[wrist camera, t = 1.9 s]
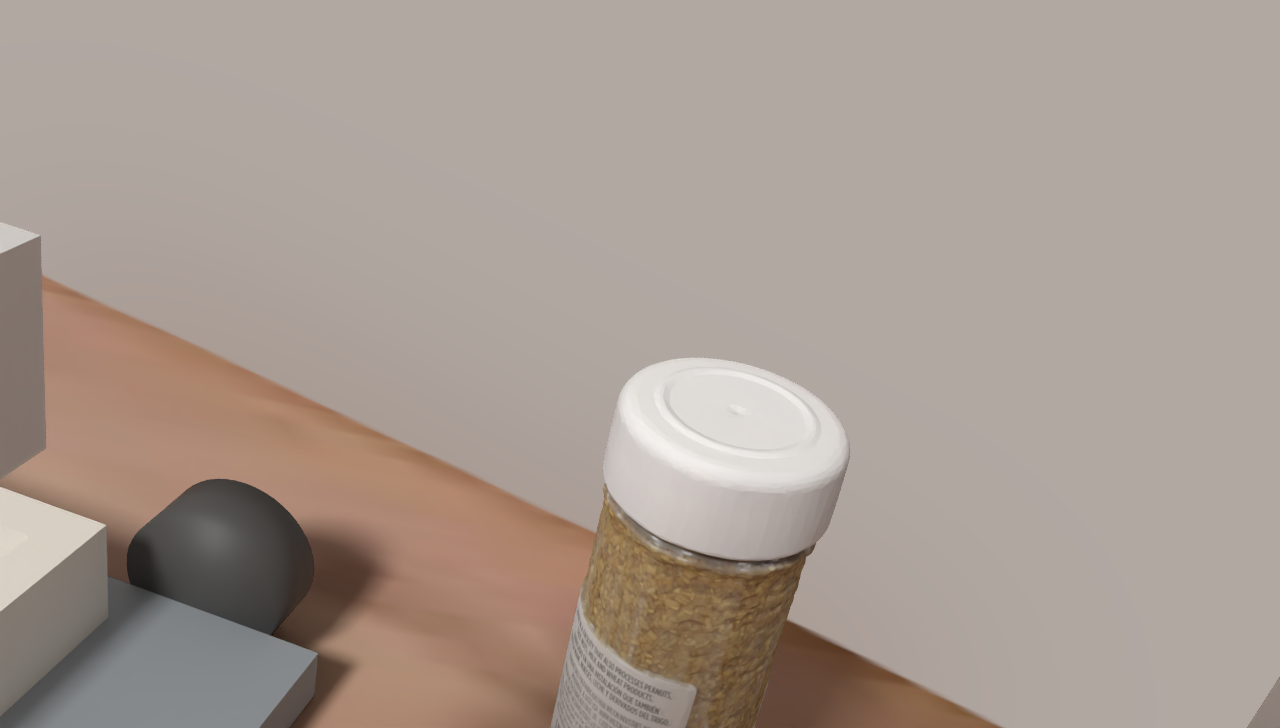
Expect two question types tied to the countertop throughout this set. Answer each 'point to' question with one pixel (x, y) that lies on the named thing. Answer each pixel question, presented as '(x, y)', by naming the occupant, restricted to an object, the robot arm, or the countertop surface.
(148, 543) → the toy chassis
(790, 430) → the spice jar
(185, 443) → the countertop surface
